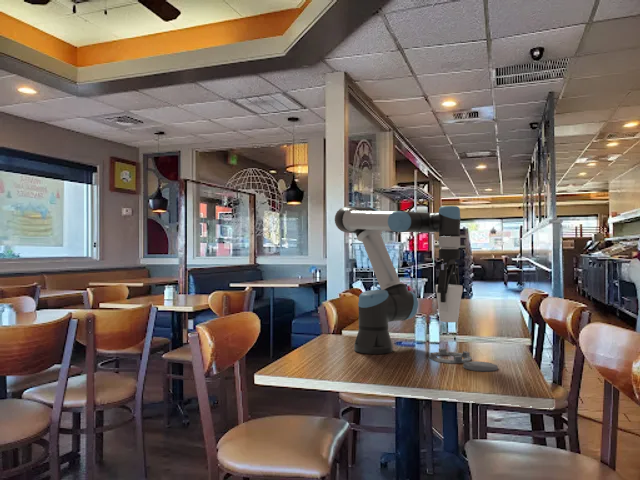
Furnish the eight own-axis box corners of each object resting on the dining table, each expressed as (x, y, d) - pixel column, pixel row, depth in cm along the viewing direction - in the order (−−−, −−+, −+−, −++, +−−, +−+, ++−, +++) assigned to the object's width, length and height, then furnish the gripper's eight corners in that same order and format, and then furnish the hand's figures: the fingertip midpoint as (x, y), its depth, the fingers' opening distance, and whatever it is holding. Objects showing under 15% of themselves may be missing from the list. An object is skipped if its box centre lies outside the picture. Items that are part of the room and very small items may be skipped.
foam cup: (435, 322, 175) (436, 286, 175) (435, 318, 184) (435, 284, 184) (463, 323, 173) (463, 286, 173) (461, 319, 182) (461, 284, 182)
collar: (424, 359, 176) (424, 353, 176) (439, 352, 187) (438, 347, 187) (462, 365, 168) (462, 358, 168) (474, 357, 179) (474, 351, 179)
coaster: (458, 368, 163) (458, 366, 163) (469, 362, 172) (469, 359, 172) (492, 373, 157) (492, 370, 157) (501, 366, 166) (501, 364, 166)
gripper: (449, 247, 189) (449, 305, 189) (427, 248, 171) (427, 312, 171) (469, 248, 185) (468, 307, 185) (448, 248, 167) (448, 314, 167)
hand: (448, 309), depth 178 cm, fingers closed on foam cup, 9 cm apart
